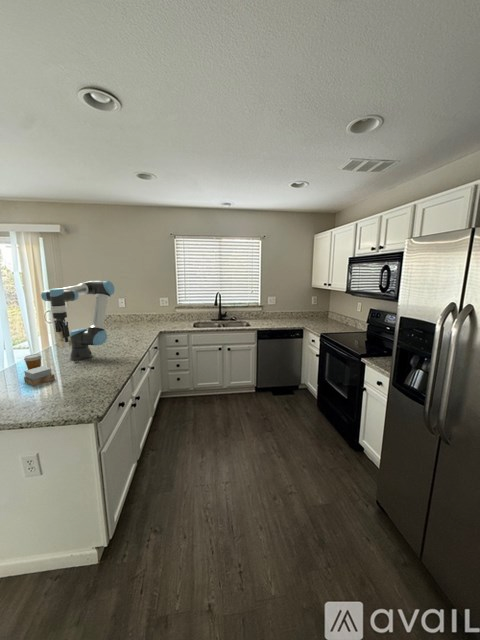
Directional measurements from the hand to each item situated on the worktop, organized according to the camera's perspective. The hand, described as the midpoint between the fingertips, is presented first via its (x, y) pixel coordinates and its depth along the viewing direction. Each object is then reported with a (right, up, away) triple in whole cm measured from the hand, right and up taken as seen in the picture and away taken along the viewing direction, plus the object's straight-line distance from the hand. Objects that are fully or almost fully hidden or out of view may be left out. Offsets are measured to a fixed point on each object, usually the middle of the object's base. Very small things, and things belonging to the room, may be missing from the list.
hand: (64, 345), depth 175 cm
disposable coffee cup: (-22, -19, +3) cm, 30 cm away
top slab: (-9, -18, -11) cm, 23 cm away
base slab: (-9, -22, -10) cm, 25 cm away
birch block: (0, 0, 0) cm, 0 cm away
